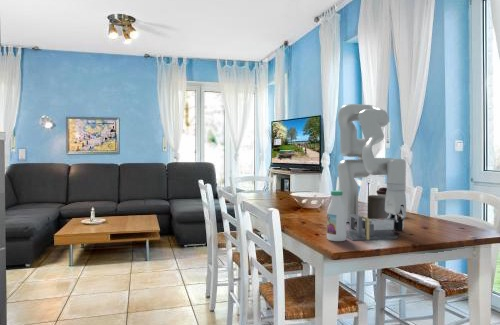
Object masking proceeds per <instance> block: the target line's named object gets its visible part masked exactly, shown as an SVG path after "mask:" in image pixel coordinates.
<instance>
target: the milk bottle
mask: <svg viewBox="0 0 500 325" xmlns="http://www.w3.org/2000/svg"><path fill="white" fill-rule="evenodd" d="M342 195H343V192H342V191H339V190H331V191H330V197H331V200H330V201H329V202H330V203H329V205H328V206H327V210H326V211H327V212H326V213H327V214H326V239H327V240H328V241H331V242H345V241H346V240H347V237H346V231H347V222H346V209H345V206H344V204H343V201H342Z"/></svg>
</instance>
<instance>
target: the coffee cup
mask: <svg viewBox="0 0 500 325" xmlns="http://www.w3.org/2000/svg"><path fill="white" fill-rule="evenodd" d="M386 191H387V187H379V189H378V190H376V195H377V194H378V195H381V196H386Z"/></svg>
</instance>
